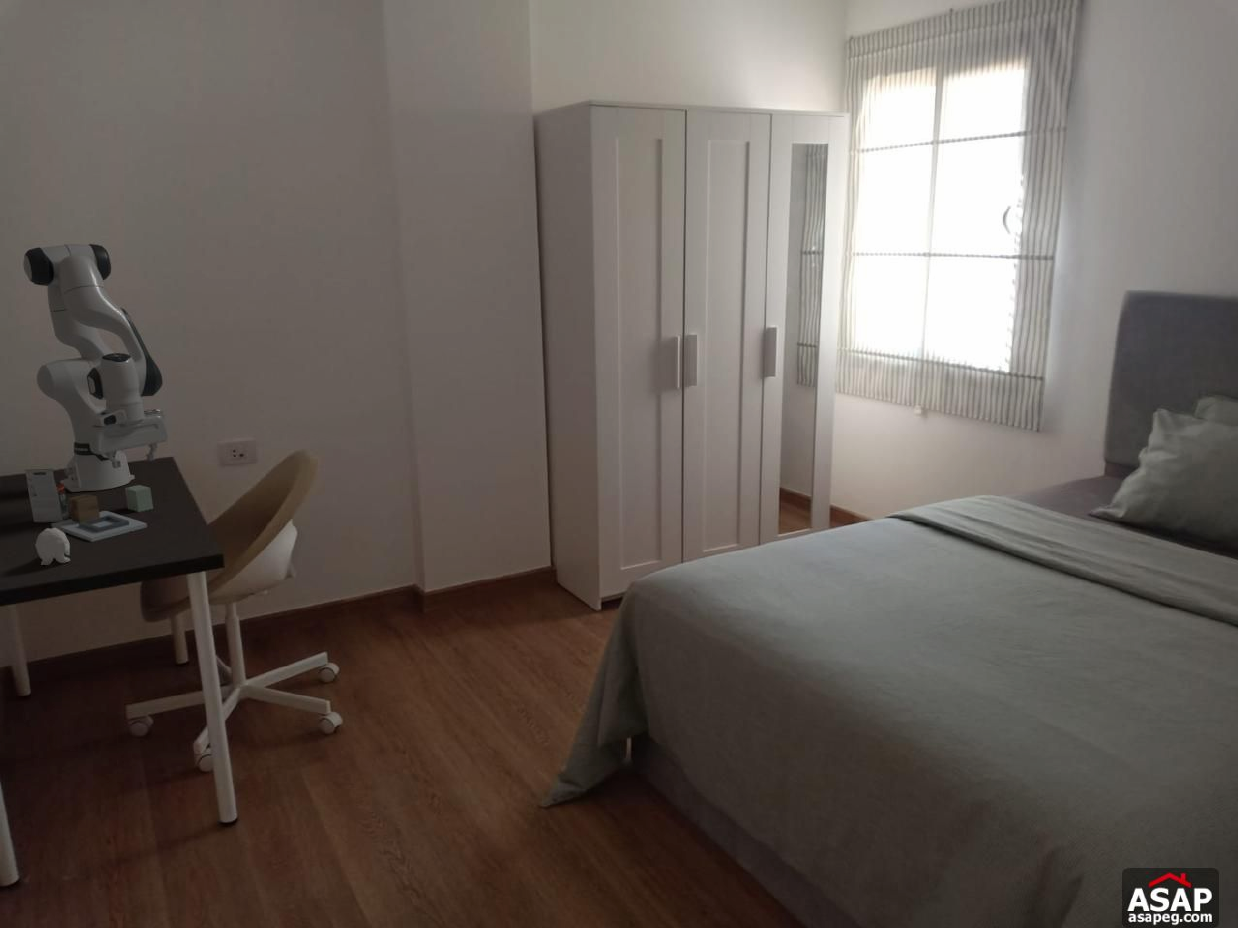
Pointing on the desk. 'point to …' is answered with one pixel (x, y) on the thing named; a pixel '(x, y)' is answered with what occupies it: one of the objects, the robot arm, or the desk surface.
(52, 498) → the ink box
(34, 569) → the desk surface
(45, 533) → the white animal figurine
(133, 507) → the sage block
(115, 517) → the board
